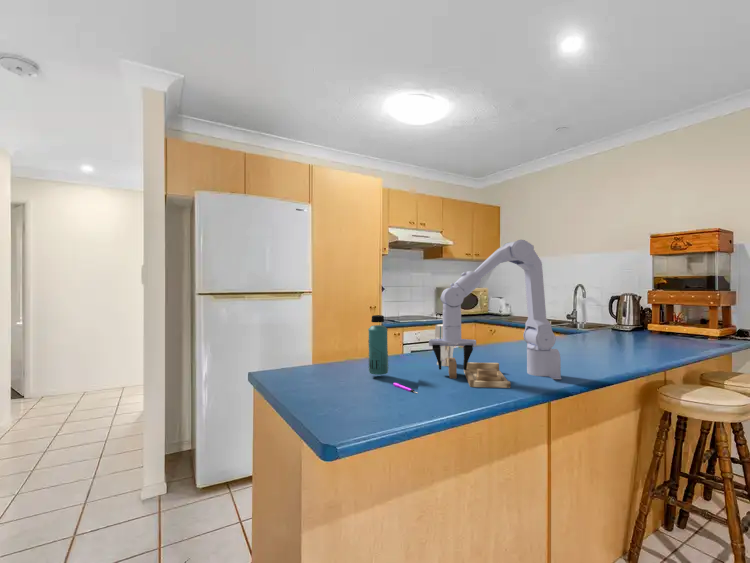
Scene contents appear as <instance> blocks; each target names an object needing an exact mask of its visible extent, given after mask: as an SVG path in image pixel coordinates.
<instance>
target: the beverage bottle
mask: <svg viewBox="0 0 750 563" xmlns="http://www.w3.org/2000/svg"><path fill="white" fill-rule="evenodd" d="M370 322H371V323H384V322H385V316H384V315H382V314H381V315H380V314H375V315H372V316H371V321H370ZM388 330H389V329H388V328H387V327H386V326H385V325H381V324H377V325H376V324H374V325H371V326H369V328H368V341H367V342H368V343H367V344H368V372H369V374H371V375H380V376H381V375H387V374H388V372H389V350H388Z"/></svg>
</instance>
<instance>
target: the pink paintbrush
mask: <svg viewBox="0 0 750 563" xmlns="http://www.w3.org/2000/svg"><path fill="white" fill-rule="evenodd" d="M392 385H393V387H395V388H398V389H401V390H404V391H407V392H410V393H415V394H418V392H417V391H415V390H414V389H412V388H411V387H408V386H405V385H403V384H401V383H399V382H393V384H392Z"/></svg>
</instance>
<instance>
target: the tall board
mask: <svg viewBox="0 0 750 563" xmlns="http://www.w3.org/2000/svg"><path fill="white" fill-rule="evenodd" d="M448 361H449V366H448V376H449V379H457V376H458V375H457V373H458V372H457V360H456V357H453V358H448Z"/></svg>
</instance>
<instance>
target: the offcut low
mask: <svg viewBox="0 0 750 563" xmlns="http://www.w3.org/2000/svg"><path fill="white" fill-rule="evenodd" d="M476 381H501V377H500V376H499V375H497V377H478V376H477V375H476Z"/></svg>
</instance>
